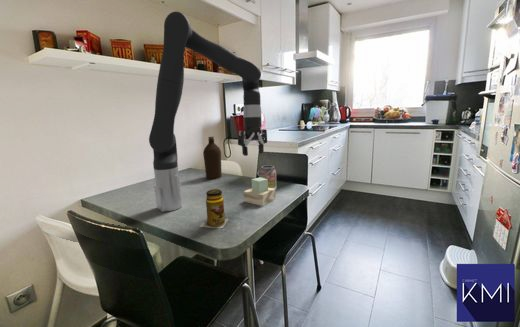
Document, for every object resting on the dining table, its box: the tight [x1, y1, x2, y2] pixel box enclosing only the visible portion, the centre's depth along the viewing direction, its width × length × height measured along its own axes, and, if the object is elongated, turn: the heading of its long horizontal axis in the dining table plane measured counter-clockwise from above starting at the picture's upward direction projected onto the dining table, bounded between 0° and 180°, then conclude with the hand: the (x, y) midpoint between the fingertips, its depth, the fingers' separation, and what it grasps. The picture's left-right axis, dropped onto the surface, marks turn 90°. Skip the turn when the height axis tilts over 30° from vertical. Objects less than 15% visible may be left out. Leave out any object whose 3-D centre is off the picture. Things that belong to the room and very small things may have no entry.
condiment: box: [198, 188, 229, 229], centre depth 87 cm, size 7×8×12 cm
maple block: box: [243, 187, 276, 207], centre depth 109 cm, size 10×10×5 cm
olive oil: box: [202, 136, 222, 180], centre depth 151 cm, size 11×11×25 cm
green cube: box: [251, 176, 268, 193], centre depth 108 cm, size 5×5×5 cm
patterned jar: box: [256, 164, 277, 191], centre depth 122 cm, size 9×8×12 cm
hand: (253, 154), depth 107 cm, fingers open, 8 cm apart
